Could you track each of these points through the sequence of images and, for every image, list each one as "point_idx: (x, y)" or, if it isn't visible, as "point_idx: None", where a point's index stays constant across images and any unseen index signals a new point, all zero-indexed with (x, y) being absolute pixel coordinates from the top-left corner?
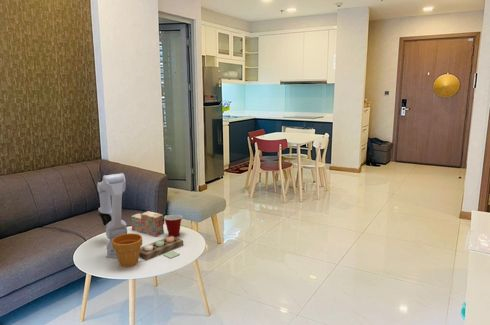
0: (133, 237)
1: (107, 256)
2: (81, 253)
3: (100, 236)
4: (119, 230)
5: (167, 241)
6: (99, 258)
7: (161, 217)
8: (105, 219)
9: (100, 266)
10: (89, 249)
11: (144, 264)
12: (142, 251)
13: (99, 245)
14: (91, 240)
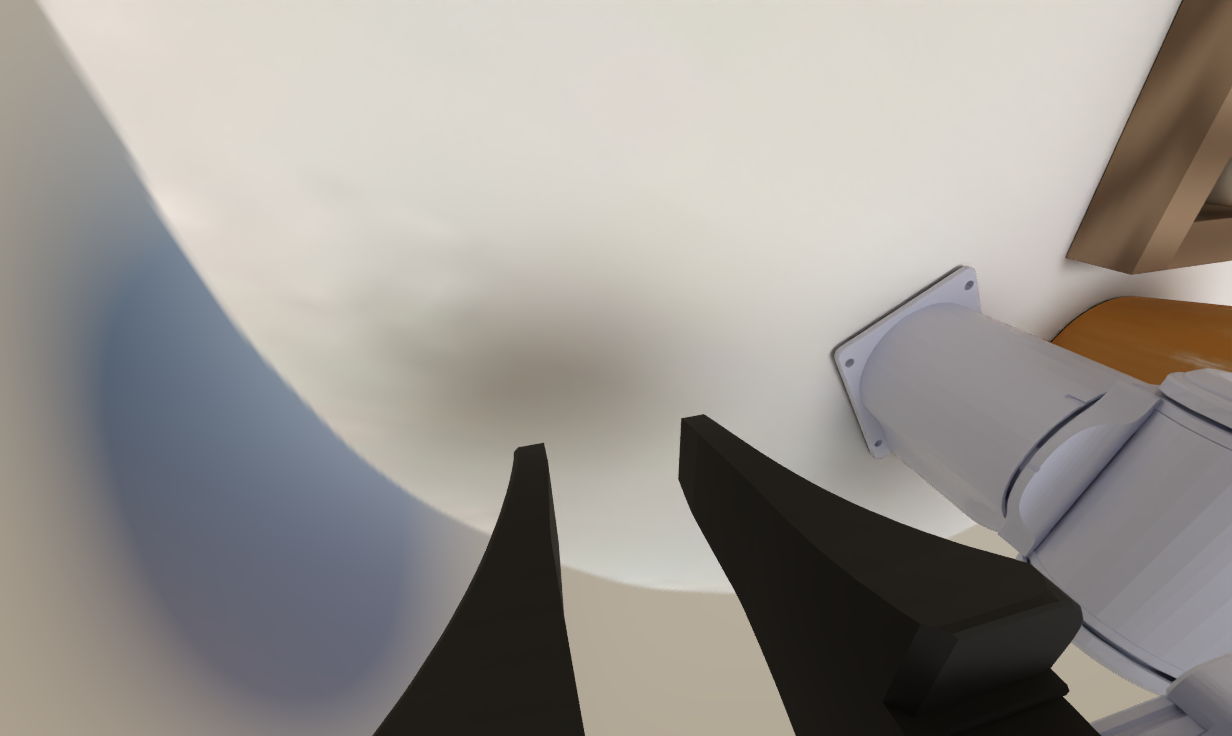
0: None
1: (888, 452)
2: (644, 571)
3: (283, 344)
4: None
5: None
6: (837, 491)
7: None
8: (777, 673)
9: (931, 508)
10: (618, 518)
11: (1203, 285)
12: (1220, 241)
13: (599, 433)
14: (376, 465)
